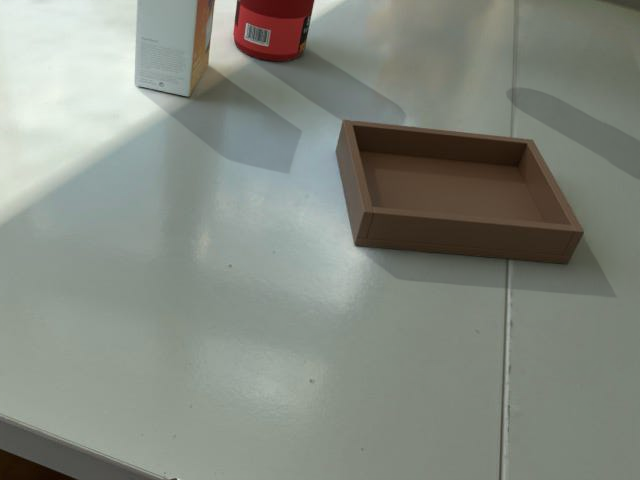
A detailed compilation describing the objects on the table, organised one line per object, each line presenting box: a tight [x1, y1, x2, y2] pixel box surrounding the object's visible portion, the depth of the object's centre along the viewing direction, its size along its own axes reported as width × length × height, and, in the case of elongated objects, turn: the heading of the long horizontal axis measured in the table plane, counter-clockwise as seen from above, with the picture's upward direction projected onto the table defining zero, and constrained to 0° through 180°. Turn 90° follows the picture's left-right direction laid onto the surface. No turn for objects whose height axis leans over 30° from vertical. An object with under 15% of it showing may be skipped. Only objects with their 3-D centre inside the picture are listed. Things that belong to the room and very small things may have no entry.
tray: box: [335, 119, 585, 265], centre depth 66 cm, size 18×14×3 cm
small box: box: [133, 0, 216, 97], centre depth 74 cm, size 8×6×10 cm
